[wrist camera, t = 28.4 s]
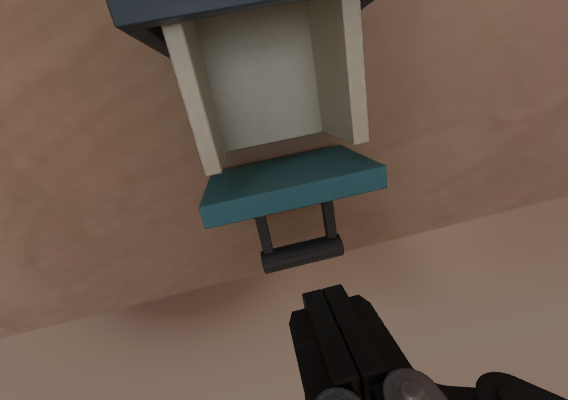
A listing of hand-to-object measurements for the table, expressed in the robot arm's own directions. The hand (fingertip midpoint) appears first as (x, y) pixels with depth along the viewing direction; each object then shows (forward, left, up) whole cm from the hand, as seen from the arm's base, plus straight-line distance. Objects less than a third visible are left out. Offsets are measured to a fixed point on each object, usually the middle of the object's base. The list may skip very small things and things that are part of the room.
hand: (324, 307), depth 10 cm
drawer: (+6, 0, -11) cm, 13 cm away
